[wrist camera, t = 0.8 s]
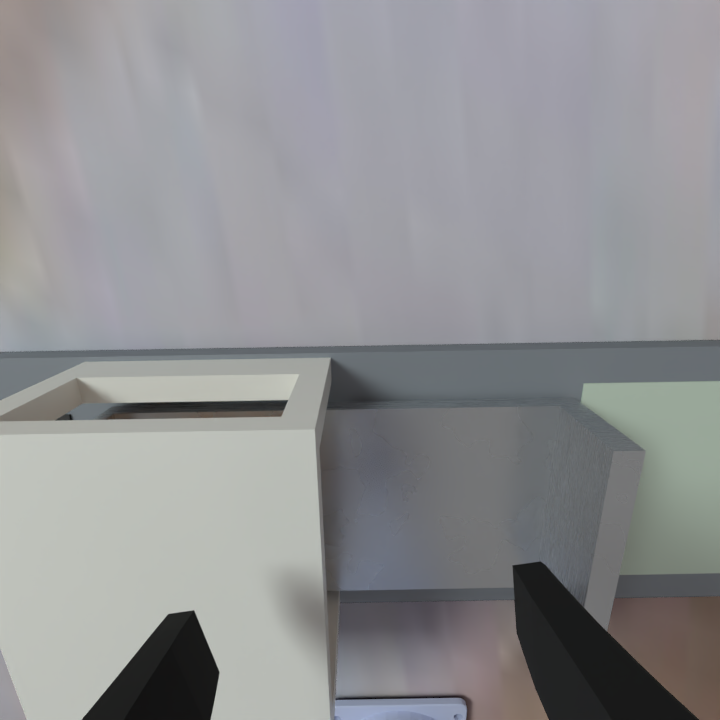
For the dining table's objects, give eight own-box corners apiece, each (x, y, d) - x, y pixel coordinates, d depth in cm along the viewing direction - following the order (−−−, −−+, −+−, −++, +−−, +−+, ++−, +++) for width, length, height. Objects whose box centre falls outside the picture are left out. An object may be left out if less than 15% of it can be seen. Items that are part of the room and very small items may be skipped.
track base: (760, 579, 21) (781, 596, 20) (35, 591, 21) (18, 610, 20) (843, 337, 17) (875, 344, 16) (-42, 352, 17) (-68, 360, 16)
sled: (548, 573, 19) (600, 664, 15) (149, 579, 19) (93, 673, 15) (574, 397, 17) (646, 450, 12) (113, 405, 17) (32, 461, 12)
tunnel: (339, 599, 20) (332, 759, 14) (139, 603, 20) (43, 764, 14) (330, 357, 16) (314, 429, 10) (84, 361, 16) (-79, 436, 10)
